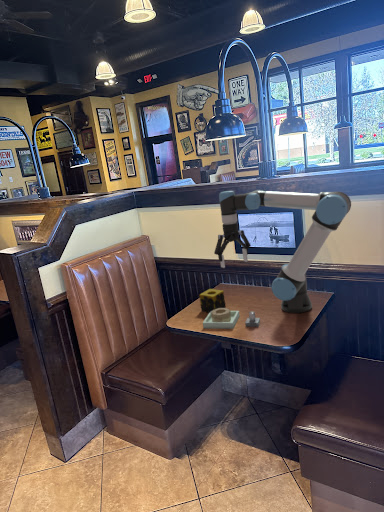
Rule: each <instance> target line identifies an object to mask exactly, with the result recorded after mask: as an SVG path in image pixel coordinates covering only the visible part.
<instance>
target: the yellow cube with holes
mask: <svg viewBox="0 0 384 512" xmlns="http://www.w3.org/2000/svg"><path fill="white" fill-rule="evenodd" d="M224 292H225V291H224V289H223V290H220V289H215V288H208V289H207V290H205V291H204V292H201V293H200V294H198V295H199V299H200V300H199V302H200V310H201V312H204V313H208V314H209V313H210V311H213V310H215V309H218V308H227V306H226V301H225V300H226V299H225V293H224Z"/></svg>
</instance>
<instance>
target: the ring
mask: <svg viewBox="0 0 384 512" xmlns="http://www.w3.org/2000/svg"><path fill="white" fill-rule="evenodd" d="M230 311H231V310H230V309H229V308H227V307H225V308H218V309H215V310H213V311H212V312H211V315H212V322H230V320H231V314H230Z"/></svg>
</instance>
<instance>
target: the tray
mask: <svg viewBox="0 0 384 512" xmlns="http://www.w3.org/2000/svg"><path fill="white" fill-rule="evenodd" d="M211 312H212V311H210V313H208V314H207V316H206V317H205V318H204V320H203V321H202V328H203V329H215V330H217V329H222V330H223V329H225V330H228V329H229V330H234V329H235V326H236V325H237V322H238V320H239V319H240V317H241V315H240V310H230V314H231V320H230V322H212V315H211Z"/></svg>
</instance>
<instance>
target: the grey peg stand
mask: <svg viewBox="0 0 384 512" xmlns="http://www.w3.org/2000/svg"><path fill="white" fill-rule="evenodd" d="M248 316H249V317H247V318H246V320H245V322H244V324H245V328H246V327H247V328H249V327H250V328H259V326H260V323H261V318H260V317H256V312H255V311H248Z"/></svg>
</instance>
